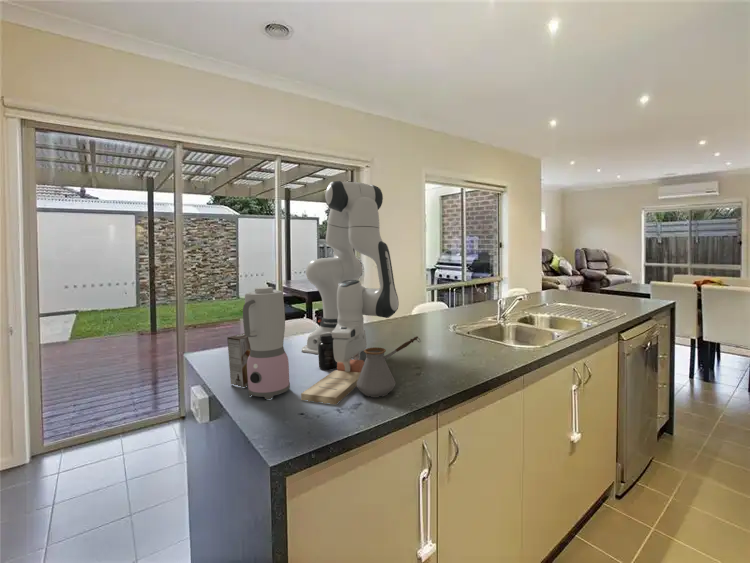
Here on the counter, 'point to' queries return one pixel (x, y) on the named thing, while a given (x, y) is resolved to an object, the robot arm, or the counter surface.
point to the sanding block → (355, 365)
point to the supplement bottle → (326, 352)
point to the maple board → (332, 387)
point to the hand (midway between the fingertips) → (352, 368)
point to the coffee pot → (377, 372)
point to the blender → (266, 342)
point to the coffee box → (238, 359)
